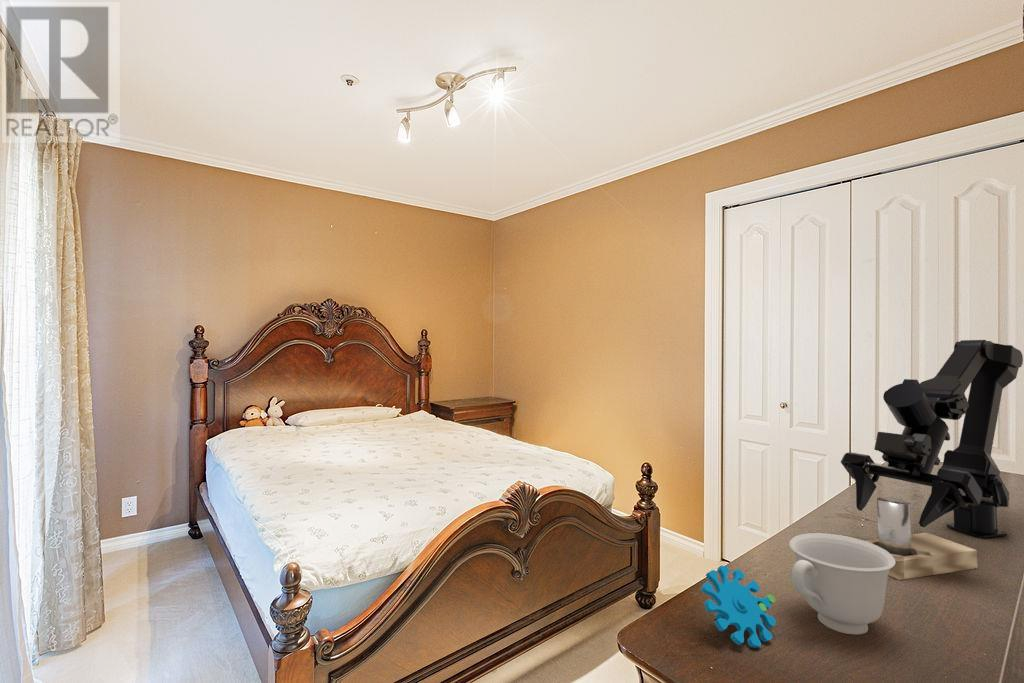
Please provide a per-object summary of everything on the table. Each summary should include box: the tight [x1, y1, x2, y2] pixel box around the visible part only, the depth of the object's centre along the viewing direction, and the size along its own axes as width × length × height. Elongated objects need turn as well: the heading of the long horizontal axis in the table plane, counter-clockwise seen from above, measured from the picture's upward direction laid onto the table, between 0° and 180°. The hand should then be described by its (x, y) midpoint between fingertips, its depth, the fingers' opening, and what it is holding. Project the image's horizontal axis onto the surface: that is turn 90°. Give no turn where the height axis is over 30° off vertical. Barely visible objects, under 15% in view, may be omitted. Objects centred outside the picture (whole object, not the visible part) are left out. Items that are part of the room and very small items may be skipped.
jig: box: [863, 532, 979, 581], centre depth 83 cm, size 16×8×3 cm, turn 101°
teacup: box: [788, 532, 895, 636], centre depth 66 cm, size 12×15×10 cm
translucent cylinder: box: [876, 496, 912, 557], centre depth 82 cm, size 4×4×11 cm
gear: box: [701, 565, 777, 649], centre depth 66 cm, size 11×6×10 cm
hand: (888, 517), depth 81 cm, fingers open, 9 cm apart
